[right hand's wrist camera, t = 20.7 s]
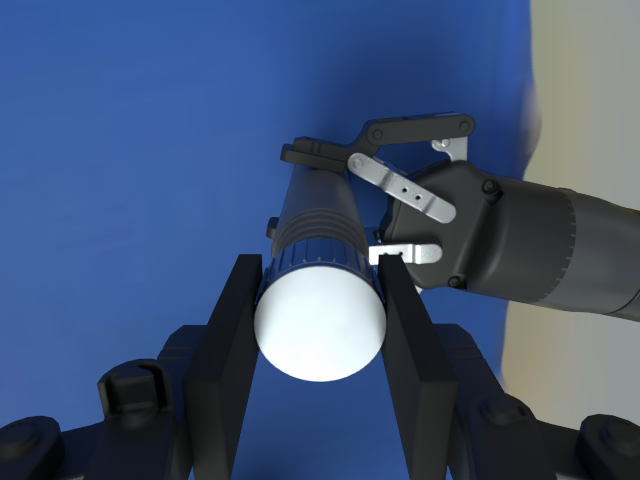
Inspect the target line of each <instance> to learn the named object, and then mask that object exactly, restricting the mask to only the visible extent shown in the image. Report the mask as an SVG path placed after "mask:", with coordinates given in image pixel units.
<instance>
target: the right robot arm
mask: <svg viewBox="0 0 640 480" xmlns="http://www.w3.org/2000/svg"><path fill="white" fill-rule="evenodd" d="M377 277H378V279H379V282H380V285H381V289H382V292H383V296H384V299H385V303H386V304H384V307H385V310H386V315H387V331H386V336H385V340H384V342H383V345H382V347H381V353H382V357H383V362H384V366H385V371H386V375H387V379H388V384H389V388H390V393H391V397H392V402H393V406H394V411H395V415H396V419H397V424H398V428H399V433H400V437H401V442H402V446H403V451H404V455H405V459H406V464H407V468H408V473H409V477H410V480H445V479H446V472H447V465H448V466H449V469H450V472H451V475H452V478H453V480H640V426H638V425H636V424H634V423H632V422H630V421H628V420H625V419H622V418H619V417H616V416H613V415H604V414H596V415H591V416H588V417H587V418H586V419H584V420H583V421H582V423H581V427H580V430H575V429H570V428H566V427H562V426H557V425H553V424H549V423H546V422H543V421H539V420H537V419H536V418H535V416H534V415H533V413H532V411H531V410H530V408H529V407H528V406H526V405H525V404H524V403H523V402H522V401H520V400H519V399H517V398H515V397H513V396H511V395H509V394H506V393H504V391H503V389H502V388H501V386H500V384H499V382H498V381H497V379H496V377H495V376H494V374H493V372H492V371H491V369H490V367H489V365H488V364H487V362H486V360H485V359H483V355H482V354H481V352H480V350H479V349H477V345H476V343H475V342H474V340H473V338H472V337H471V335H470V334H469V333H468V332H467V331H465V330H464V329H463V328H461V327H460V326H459V325H457V324H433V323H432V321H431V319H430V317H429V315H428V313H427V310H426V308H425V306H424V304H423V302H422V300H421V297H420V295H419V293H418V291H417V289H416V287H415V284H414V282H413V280H412V278H411V276H410V274H409V271H408V269H407V267H406V265H405V263H404V261H403V258H402V256H401V254H379V255H378V274H377ZM262 278H263V273H262V254H239V256H238V258H237V261H236V263H235V265H234V267H233V269H232V271H231V274H230V276H229V278H228V280H227V282H226V285H225V287H224V289H223V291H222V293H221V295H220V298H219V300H218V302H217V304H216V306H215V308H214V311H213V313H212V315H211V317H210V319H209V321H208V324H207V325H183V326H182V327H181V328H179V329H178V330H177V331H175V332H174V333H173V334H171V335H170V337H169V338H168V340H167V342H166V343H165V345H164V347H163V350H161V352H160V354H159V355H158V357H157V360H155V359H137V360H133V361H128V362H125V363H123V364H120V365H118V366H116V367H114V368H112V369H111V370H110V371H108V372H107V373H106V374H104V375H103V376H102V378H101V379H100V381H99V382H98V383H97V386H98V390H99V394H100V399H101V403H102V408H103V412H104V417H105V419H104V421H102V422H100V423H96V424H93V425H90V426H86V427H81V428H77V429H73V430H69V431H64V432H61V430H60V426H59V423H58V422H56V421H55V420H54V419H53V418H51V417H46V416H34V417H27V418H24V419H21V420H18V421H15V422H12V423H10V424H8V425H6V426H4V427H2V428H1V429H0V480H188V478H189V475H190V472H191V469H192V465H193V472H194V479H195V480H230V477H231V473H232V469H233V464H234V460H235V455H236V451H237V446H238V442H239V437H240V433H241V429H242V424H243V420H244V415H245V411H246V406H247V402H248V397H249V393H250V389H251V384H252V380H253V375H254V371H255V366H256V362H257V357H258V353H259V346H258V344H257V342H256V339H255V335H254V329H253V317H254V311H255V308H256V305H255V300H256V297H257V293H258V290H259V286H260V283H261V280H262Z"/></svg>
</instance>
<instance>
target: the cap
mask: <svg viewBox="0 0 640 480" xmlns="http://www.w3.org/2000/svg"><path fill="white" fill-rule="evenodd" d="M384 304H386V303H385V299H384V296H383V292H382V289H381V285H380V282H379V279H378V277H377V276H376V272H375V269H374V266H371V264H370V263H369V261H368V258H367V257H365V256H364V255H362V254H361V253H360V252H359V251H358V249H357V248H356V249H355V248H354V247H352V246H350V245H348V244H347V243H346V242H341V241H338V240H335V239H333V238H332V239H329V238H321V237H318V238H311V239H305V240H302V241H299V242H296V243H292V245H290V246H288V247H286V248H285V249H284V250H283V249H282V250H281V252H280V253H279V254H278V255H277V256H276V257H275V258H274V257H273V258H272V261H271V263H270V265H269V266H268V268H267V267H266V269H265V272H264V275H263V278H262V280H261V283H260V286H259V290H258V293H257V297H256V300H255V305H256V308H255V311H254V317H253V329H254V335H255V339H256V342H257V344H258V346H259V348H260V350H261V352H262V353H263V355H264V356H265V357H266V358H267V359H268V361H269V362H270V363H271V364H273V365H274V366H275V367H276V368H278V369H279V370H281V371H282V372H284V373H286V374H288V375H290V376H292V377H295V378H298V379H302V380H306V381H314V382H325V381H333V380H338V379H342V378H345V377H348V376H350V375H352V374H354V373H356V372H358V371H360V370H361V369H363V368H364V367H365V366H366V365H368V364H369V363H370V362H371V361H372V360H373V359H374V357H375V356H376V355H377V354H378V352H379V350H380V349H381V347H382V345H383V342H384V340H385V336H386V331H387V315H386V310H385V307H384Z"/></svg>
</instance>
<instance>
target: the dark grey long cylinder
mask: <svg viewBox="0 0 640 480" xmlns="http://www.w3.org/2000/svg"><path fill="white" fill-rule="evenodd" d="M318 237H321V238H329V239H332V238H333V239H335V240H338V241H341V242H346V243H347V244H348V245H350V246H352V247H354V248H355V249H356V248H357V249H358V251H359V252H360V253H361V254H362V255H364V256H365V257H367V258H368V261H369V245H368V241H367V238H366V234H365V231H364V227H363V224H362V220H361V217H360V214H359V210H358V207H357V203H356V200H355V197H354V193H353V190H352V186H351V183H350V179H349V176H348V173H347V170H344V172H343V174H340V173H336V172H331V171H327V170H322V169H317V168H313V167H308V166H303V165H299V164H296V165H295V167H294V170H293V174H292V177H291V181H290V184H289V187H288V191H287V194H286V198H285V201H284V204H283V208H282V211H281V215H280V218H279V221H278V225H277V228H276V232H275V235H274V238H273V242H272V248H271V258H273V257H274V258H275V257H276V256H277V255H278V254H279V253H280V252H281V250H282V249H283V250H284V249H285V248H286V247H288V246H290V245H292V243H296V242H299V241H302V240H305V239H311V238H318Z"/></svg>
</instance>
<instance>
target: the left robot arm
mask: <svg viewBox="0 0 640 480" xmlns="http://www.w3.org/2000/svg"><path fill="white" fill-rule="evenodd" d="M474 128H475V121H474V119H473V118H472V117H471V116H469V115H465V114H461V113H457V112H444V113H434V114H424V115H414V116H404V117H394V118H384V119H374V120H369V121H367V122H366V123H365V124H364V126H363V129H362V131H361V132H360V134H359V136H358V137H357V139H356V140H355V141H354V142H353V143H351V144H348V145H341V144H337V143H332V142H328V141H323V140H319V139H314V138H310V137H305V136H303V137H297V138H295V140H294V145H292V144H284V145H283V147H282V152H281V157H280V159H281V160H282V161H285V162H290V163H294V164H299V165H303V166H308V167H313V168H317V169H322V170H327V171H331V172H336V173H340V174H343V172H344V170H347V171H351V172H352V173H354V174H356V175H358V176H359V177H361V178H363V179H365V180H367V181H369V182H371V183H372V184H374V185H376V186H378V187H379V188H380V189H382V190H383V191H385V192H386V193H388V194H389V195H388V209H387V212H386V214H385V215H384V217H383V219H382V220H381V223H380V227H370V228H364V231H365V234H366V238H367V241H368V245H369V263H370V264H371V265H377V264H378V255H379V254H384V253H385V254H401V256H402V258H403V261H404V263H405V265H406V267H407V269H408V271H409V274H410V276H411V278H412V280H413V282H414V284H415V287H416V289H417V291H418V293H419V294H420V293H421V291H422V290H423V289H427V290H428V289H434V288H437V287H452V288H455V289H458V290H462V291H466V292H471V293H476V294H481V295H486V296H491V297H496V298H501V299H506V300H511V301H516V302H521V303H527V304H531V305H536V306H541V307H546V308H552V309H557V310H562V311H571V312H589V313H596V314H602V315H608V316H612V317H617V318H623V319H627V320H632V321H637V322H640V211H638V210H634V209H629V208H625V207H621V206H618V205H615V204H613V203H610V202H608V201H606V200H603V199H600V198H596V197H593V196H589V195H585V194H581V193H577V192H575V191H573V190H571V189H567V188H554V187H550V186H545V185H540V184H536V183H532V182H527V181H522V180H518V179H513V178H509V177H504V176H500V175H495V174H491V173H486V172H483V171H480V170H478V169H477V168H476V167H475V166H474V165H473V164H472V163H471V162H469V161H467V139H468V136H469V135H470V134H471V133H472V132H473V131H474ZM421 141H428V143H429V145H430V146H431V147H432V148H433V149H435V150H437V151H441V152H445V153H446V155H447V159H445V160H443V161H441V162H438V163H436V164H433V165H431V166H429V167H426V168H424V169H421V170H419V171H417V172H414V173H412V174H410V175H409V174H407V173H406V172H404V171H402V170H400V169H398V168H397V167H395V166H393V165H391V164H389V163H388V162H385V161H383V160H381V159H379V158H377V157H375V156H374V155H375V154H376V152H377V151H378V149H379V148H380V146H381V145H390V144H400V143H411V142H421ZM278 221H279V218H278V217H271V218H270V220H269V223H268V226H267V232H266V236H267V237H268V238H271V239H273V238H274V235H275V232H276V228H277V225H278ZM379 236H380V237H379Z"/></svg>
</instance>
